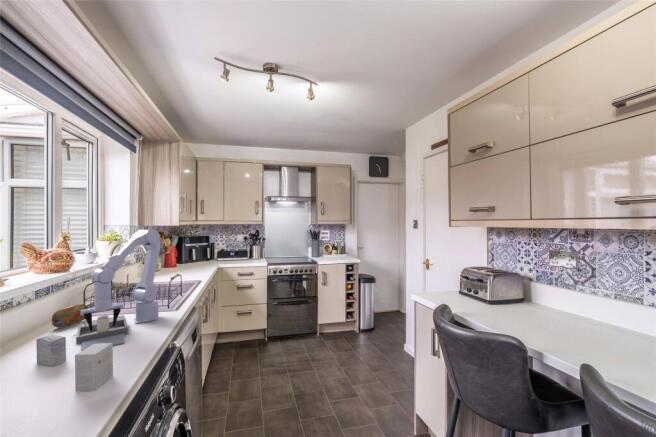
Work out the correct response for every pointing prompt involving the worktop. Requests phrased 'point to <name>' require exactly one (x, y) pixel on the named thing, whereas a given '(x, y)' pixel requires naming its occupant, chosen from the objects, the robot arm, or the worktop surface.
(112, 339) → the mat
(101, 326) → the block
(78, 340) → the grey open frame tray
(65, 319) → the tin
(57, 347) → the medicine box
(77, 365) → the small box
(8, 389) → the worktop surface
